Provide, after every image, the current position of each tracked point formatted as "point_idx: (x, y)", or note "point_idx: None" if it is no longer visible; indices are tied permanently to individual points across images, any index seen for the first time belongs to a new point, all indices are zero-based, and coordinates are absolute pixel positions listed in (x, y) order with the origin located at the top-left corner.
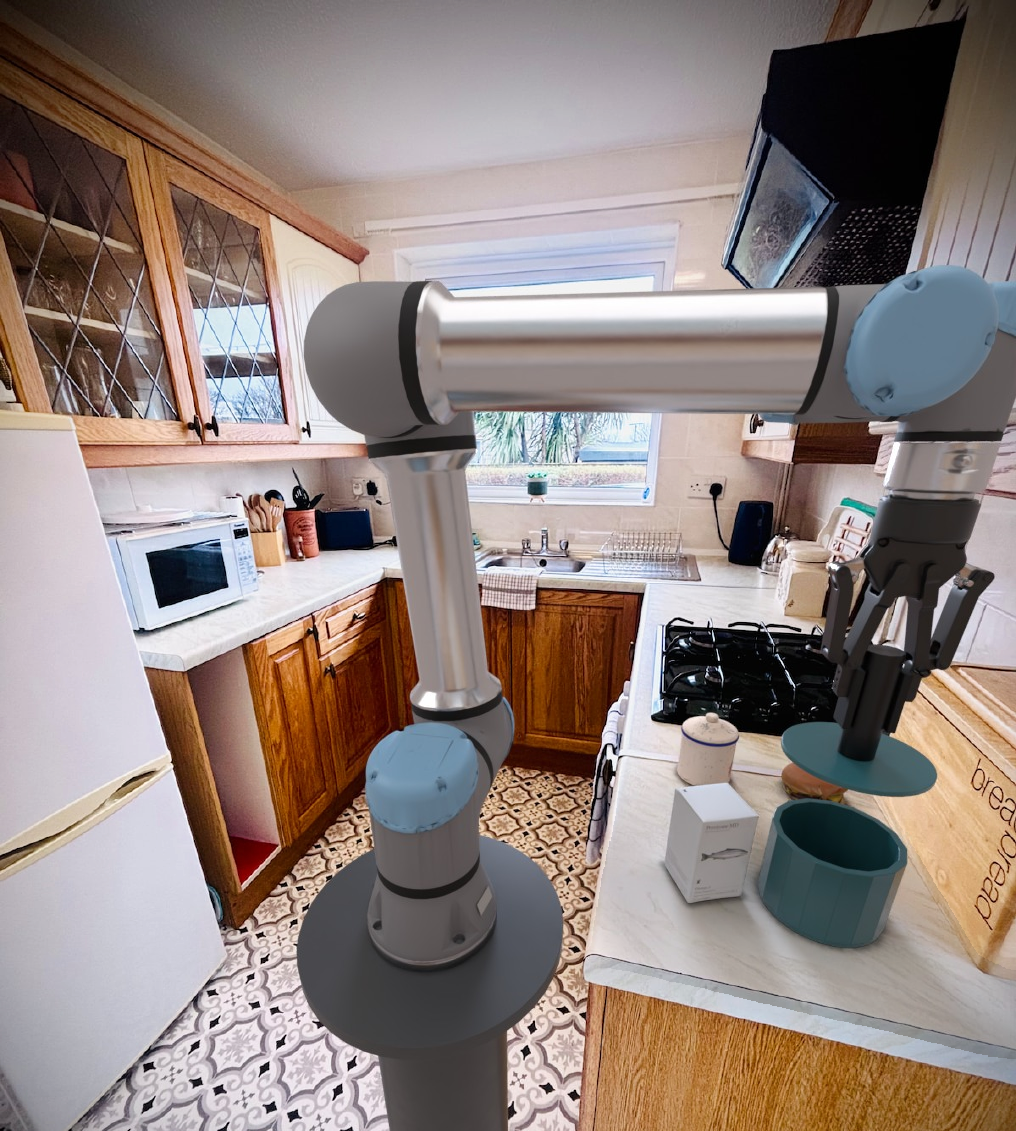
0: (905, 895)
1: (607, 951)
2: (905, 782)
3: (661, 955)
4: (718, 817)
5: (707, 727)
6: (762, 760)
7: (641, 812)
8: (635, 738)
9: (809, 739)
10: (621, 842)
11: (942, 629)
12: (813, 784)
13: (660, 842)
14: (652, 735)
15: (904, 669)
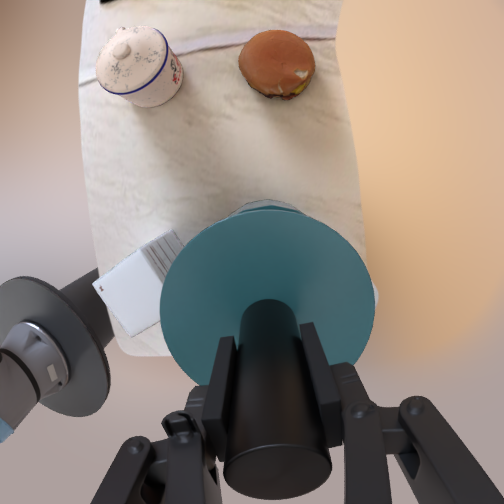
0: (345, 212)
1: (126, 353)
2: None
3: (156, 347)
4: (141, 326)
5: (118, 70)
6: (223, 19)
7: (101, 183)
8: (82, 48)
9: (200, 303)
10: (96, 239)
11: (431, 499)
12: (272, 83)
13: (125, 224)
14: (99, 31)
15: (339, 418)
